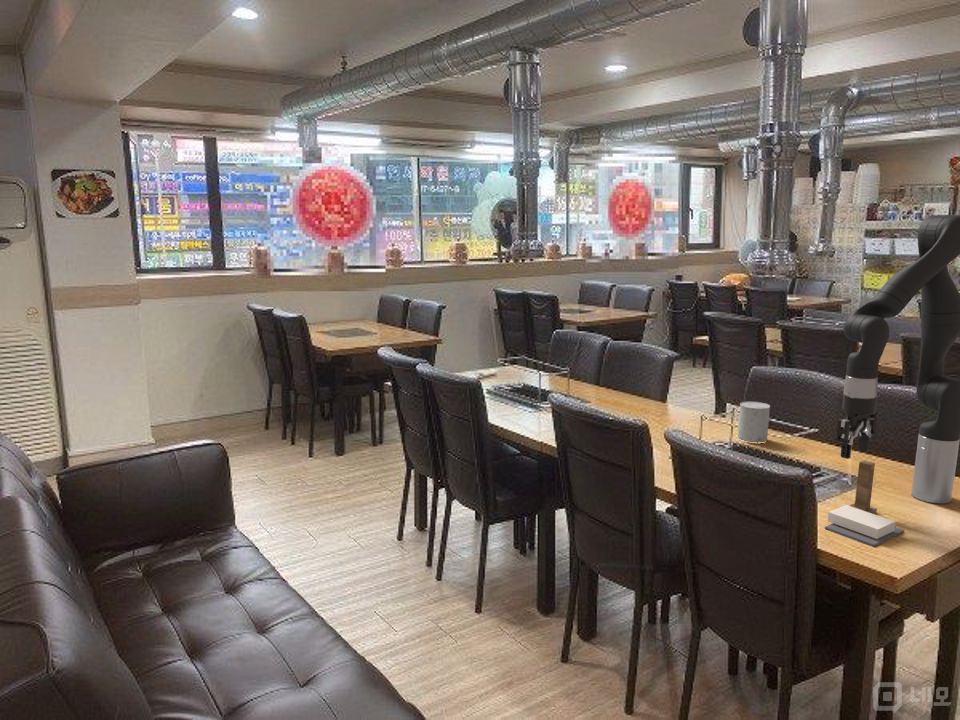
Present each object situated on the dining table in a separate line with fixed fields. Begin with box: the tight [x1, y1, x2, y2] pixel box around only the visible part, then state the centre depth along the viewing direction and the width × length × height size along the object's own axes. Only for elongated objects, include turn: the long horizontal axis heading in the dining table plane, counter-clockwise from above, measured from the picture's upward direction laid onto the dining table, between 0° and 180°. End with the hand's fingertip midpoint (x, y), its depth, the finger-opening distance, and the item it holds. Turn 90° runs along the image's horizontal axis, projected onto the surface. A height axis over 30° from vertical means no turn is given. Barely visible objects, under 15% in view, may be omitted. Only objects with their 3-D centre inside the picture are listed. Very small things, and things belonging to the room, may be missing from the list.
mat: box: [824, 523, 905, 548], centre depth 173 cm, size 14×12×1 cm
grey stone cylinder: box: [737, 401, 771, 443], centre depth 243 cm, size 10×10×12 cm
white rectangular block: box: [827, 504, 896, 539], centre depth 173 cm, size 8×3×12 cm
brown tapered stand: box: [848, 460, 878, 514], centre depth 183 cm, size 5×5×13 cm
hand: (854, 454), depth 184 cm, fingers open, 8 cm apart
